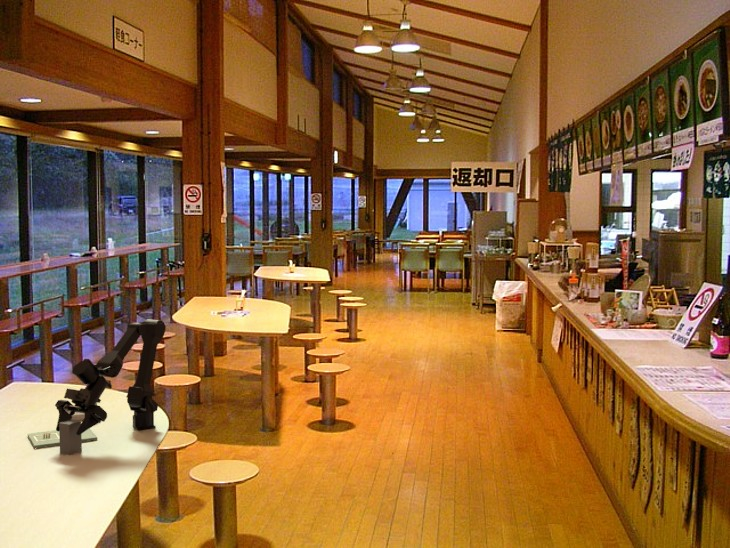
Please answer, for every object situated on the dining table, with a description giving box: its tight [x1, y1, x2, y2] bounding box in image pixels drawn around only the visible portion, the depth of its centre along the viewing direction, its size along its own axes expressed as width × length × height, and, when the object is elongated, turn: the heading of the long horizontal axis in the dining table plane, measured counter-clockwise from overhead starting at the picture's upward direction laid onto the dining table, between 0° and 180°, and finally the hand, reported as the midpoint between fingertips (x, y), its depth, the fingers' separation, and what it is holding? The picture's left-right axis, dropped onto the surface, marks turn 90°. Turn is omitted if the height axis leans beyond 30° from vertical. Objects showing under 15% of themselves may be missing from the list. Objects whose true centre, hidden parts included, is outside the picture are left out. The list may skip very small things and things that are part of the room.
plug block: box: [59, 419, 83, 456], centre depth 257 cm, size 5×4×10 cm
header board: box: [27, 428, 98, 449], centre depth 273 cm, size 20×16×2 cm
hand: (67, 432), depth 256 cm, fingers open, 9 cm apart
